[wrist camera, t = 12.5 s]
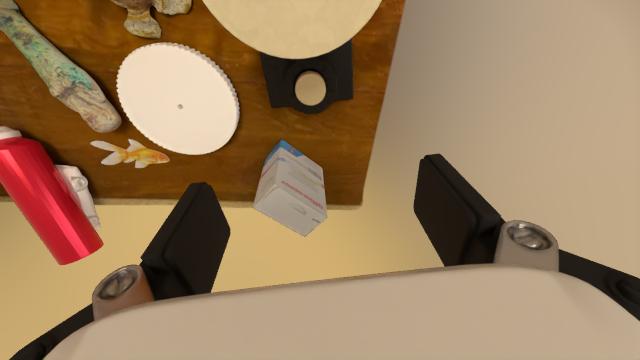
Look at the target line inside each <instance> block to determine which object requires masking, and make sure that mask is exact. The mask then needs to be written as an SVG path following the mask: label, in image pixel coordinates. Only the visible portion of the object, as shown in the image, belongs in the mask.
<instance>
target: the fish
mask: <svg viewBox="0 0 640 360" xmlns="http://www.w3.org/2000/svg"><path fill="white" fill-rule="evenodd" d="M128 140H129V142H130V144H131V146H129V148H128V149H127V150H124V149H122V148H119V147H117V146H115V145H112V144H109V143H106V142H103V141H93V142H91V144H92V145H93V146H96V147H98V148H101V149H105V150H110V151H116V152H114V153H113V154H111V155H109V156H108V157H107V158H105V159H104V160H103V161H102V162H101V163H102V164H106V165H114V164H118V163H120V162H122V161H123V160H124V159H125V160H124V162H131V161H134V160H136V165H135V168H144V167H146V166H147V165H148V164H151V163H164V162H168V161H170V160H169V158H168V157H167V156H166V155H164V154H163V153H160V152H158V151H154V150H150V149H147V148H146V147H145V146H143V145H142V144H141V143H139V142H137V141H135V140H132V139H128Z"/></svg>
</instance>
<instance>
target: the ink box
mask: <svg viewBox="0 0 640 360" xmlns="http://www.w3.org/2000/svg"><path fill="white" fill-rule="evenodd" d="M253 208H254V209H256V210H257V211H259V212H261V213H263V214H264V215H266V216H268V217H270V218H272V219H273V220H275V221H277V222H279V223H281V224H282V225H284V226H286V227H288V228H290V229H292V230H293V231H295V232H297V233H299V234H300V235H302V236H304V237H305V236H306V235H307V234H309V233H310V232H311V231H312V230H313V229H315V228H316V227H317V226H318V225H319V224H321V223H322V222H323V221H324V220H325V219H326V218H327V210H326V200H325V191H324V181H323V171H322V168H321V167H320V166H319V165H317V164H316V163H315V162H313V161H312V160H310V159H309V158H308V157H306V156H305V155H303V154H302V153H301V152H299V151H298V150H296V149H295V148H294V147H292V146H291V145H290V144H288V143H287V142H285V141H284V140H280V141H279V143H278V144H277V145H276V146H275V147H274V149H273V150H272V151H271V152H270V154H269V155H268V156H267V158H266V159H265V163H264V166H263V170H262V174H261V178H260V182H259V185H258V189H257V193H256V197H255V201H254V204H253Z"/></svg>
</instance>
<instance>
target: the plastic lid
mask: <svg viewBox="0 0 640 360" xmlns="http://www.w3.org/2000/svg"><path fill="white" fill-rule="evenodd" d="M128 56H129V57H126V58H125V61H123V62H122V64H123V65H121V66H120V68H121V69H120V70H118V72H119V74H118V75H117V77H118V79H117V80H116V82H118V84H117V85H116V87H118V89H117V92H118V93H119V95H118V97H119V98H120V100H119V101H120V102H121V103H122V105H121V106H122V107H123V108H124V112H126V114H127V115H126V116H127V117H129V118H130V119H129V120H130V121H132V122H133V125H134V126H136V127H137V129H138V130H140V131H141V133H142V134H144V136H145V137H148V138H149V140H152V141H153V142H154V143H157V144H158V145H159V146H163V148H167V149H168V150H172V151H173V152H175V151H176V152H177V153H182V154H184V153H186V154H187V155H189V154H191V155H194V154H196V155H198V154H200V155H202V154H203V153H204V154H206V153H207V152H208V153H210V152H211V151H212V152H213V151H215V150H218V148H221V147H222V146H224V145H225V143H227V142H228V140H230V138H231V137H232V135H233V133H234V131H235V129H236V127H237V125H238V124H237V123H238V121H239V120H238V119H239V114H240V112H239V109H240V107H238V106H239V102H238V98H237V97H236V96H237V93H235V88H233V87H232V86H233V84H232V83H230V79H228V78H227V75H226V74H224V73H223V72H224V71H223V70H221V69H220V68H219V66H218V65H216V64H215V62H214V61H213V62H212V61H211V59H210V58H209V57H208V58H207V57H206V55H205V54H201V53H200V52H199V51H195V49H193V48H191V49H190V48H189V47H188V46H185V47H184V46H183V45H182V44H180V45H178V44H177V43H174V44H172V43H171V42H169V43H166V42H163V43H154V44H150V45H146V46H143V47H141V48H138V49H136V50H135V51H133V52H132V53H131V54H129V55H128Z"/></svg>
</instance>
